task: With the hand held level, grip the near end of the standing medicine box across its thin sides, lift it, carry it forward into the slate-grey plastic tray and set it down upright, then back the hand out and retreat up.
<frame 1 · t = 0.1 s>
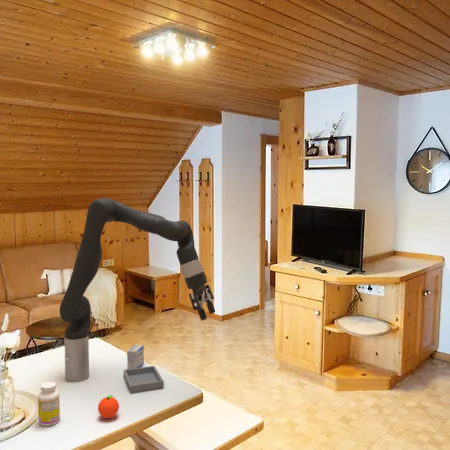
hand: (208, 316, 169), 31 cm above the table, tool tilted 20°, fingers open, 8 cm apart
supplement bottle: (49, 422, 156), on the table
tray: (143, 382, 186), on the table
clementine: (109, 416, 160), on the table
medicine box: (135, 367, 201), on the table
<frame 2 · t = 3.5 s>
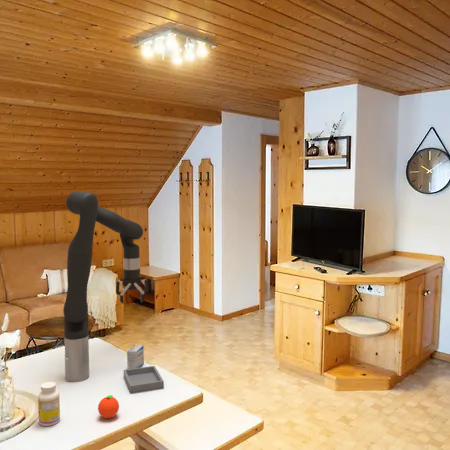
hand: (132, 302, 214), 24 cm above the table, tool pointing down, fingers open, 8 cm apart
nothing on the table moved.
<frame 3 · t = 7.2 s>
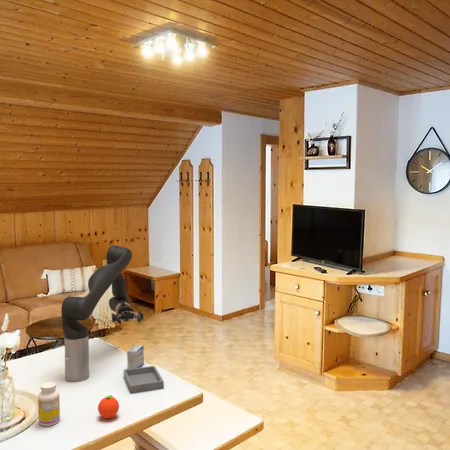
hand: (129, 321, 213), 16 cm above the table, tool horizontal, fingers open, 8 cm apart
nothing on the table moved.
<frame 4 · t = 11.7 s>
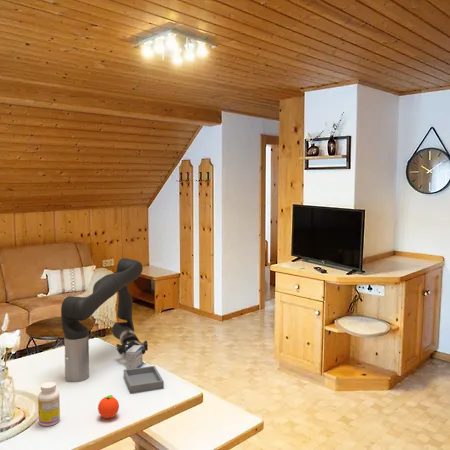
hand: (136, 352, 201), 6 cm above the table, tool horizontal, fingers closed on medicine box, 6 cm apart
medicine box: (134, 368, 201), on the table, touching gripper
everything else where it was.
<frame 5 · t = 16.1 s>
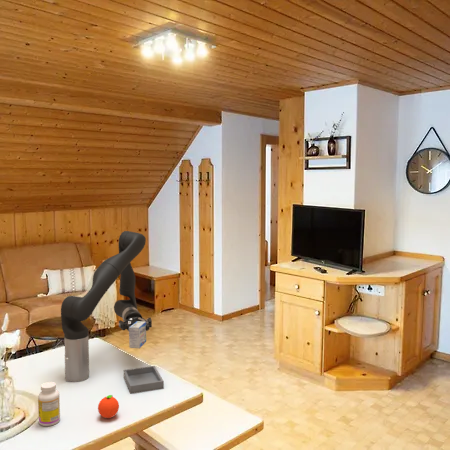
hand: (139, 329, 191), 20 cm above the table, tool horizontal, fingers closed on medicine box, 6 cm apart
medicine box: (137, 345, 190), point 13 cm above the table, touching gripper
everything else where it was.
when the fingers open (8 cm above the table, at t = 20.3 s): medicine box stays where it is, resting on tray.
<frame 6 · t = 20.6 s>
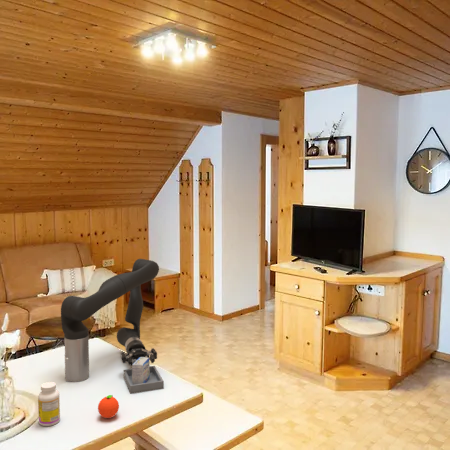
hand: (142, 362, 187), 8 cm above the table, tool horizontal, fingers open, 8 cm apart
medicine box: (141, 382, 186), resting on tray
everything else where it was.
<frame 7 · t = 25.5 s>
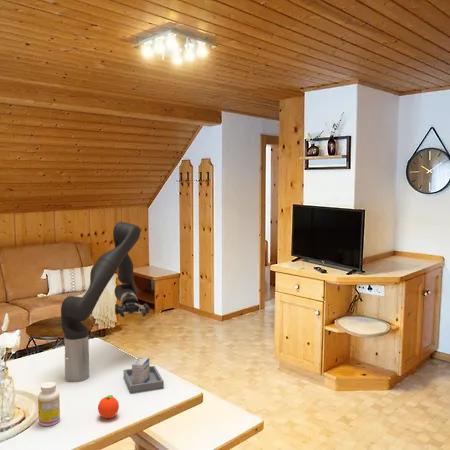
hand: (133, 314, 197), 24 cm above the table, tool horizontal, fingers open, 8 cm apart
nothing on the table moved.
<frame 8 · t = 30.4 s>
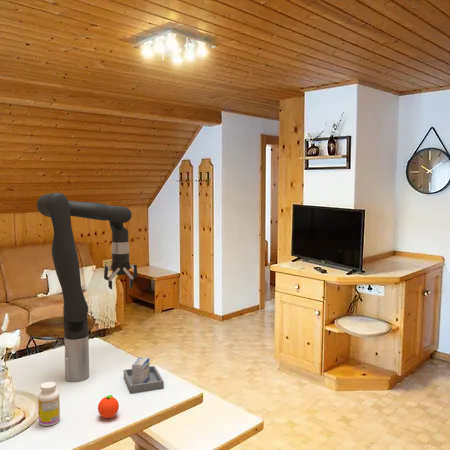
hand: (121, 288, 208), 32 cm above the table, tool pointing down, fingers open, 8 cm apart
nothing on the table moved.
at the end: medicine box inside the target area on the tray (0.9 cm from its centre), point 0.4 cm above the tray's base; medicine box tilted 0°; the gripper is holding nothing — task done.
